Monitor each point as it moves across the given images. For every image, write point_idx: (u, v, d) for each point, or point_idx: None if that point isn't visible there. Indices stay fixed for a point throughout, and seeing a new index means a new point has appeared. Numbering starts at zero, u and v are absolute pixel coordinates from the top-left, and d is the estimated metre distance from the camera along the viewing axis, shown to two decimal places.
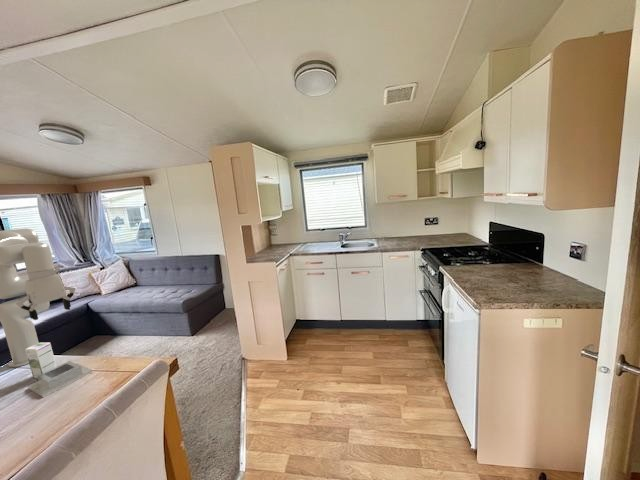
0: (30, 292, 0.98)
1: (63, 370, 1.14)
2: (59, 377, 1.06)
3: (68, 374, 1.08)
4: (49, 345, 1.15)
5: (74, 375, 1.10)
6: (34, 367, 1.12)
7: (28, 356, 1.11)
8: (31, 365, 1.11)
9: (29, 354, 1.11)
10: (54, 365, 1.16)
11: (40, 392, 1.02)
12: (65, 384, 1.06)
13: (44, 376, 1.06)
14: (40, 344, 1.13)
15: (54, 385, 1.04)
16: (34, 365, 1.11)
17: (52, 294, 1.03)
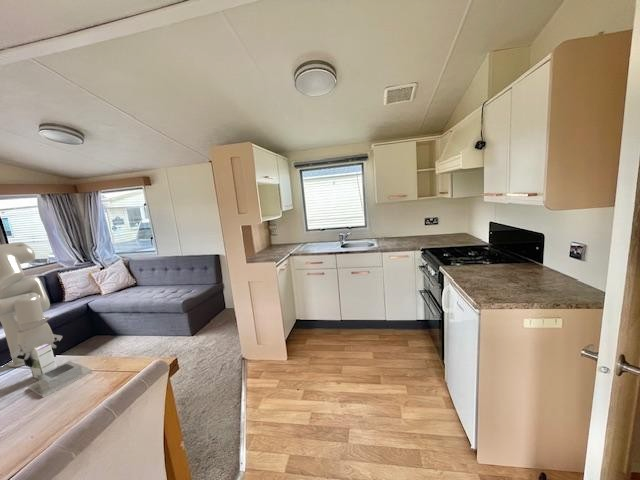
0: (21, 342, 1.07)
1: (63, 370, 1.14)
2: (59, 377, 1.06)
3: (68, 374, 1.08)
4: (49, 345, 1.15)
5: (74, 375, 1.10)
6: (34, 367, 1.12)
7: None
8: None
9: None
10: (54, 365, 1.16)
11: (40, 392, 1.02)
12: (65, 384, 1.06)
13: (44, 376, 1.06)
14: None
15: (54, 385, 1.04)
16: (34, 365, 1.11)
17: (42, 342, 1.13)
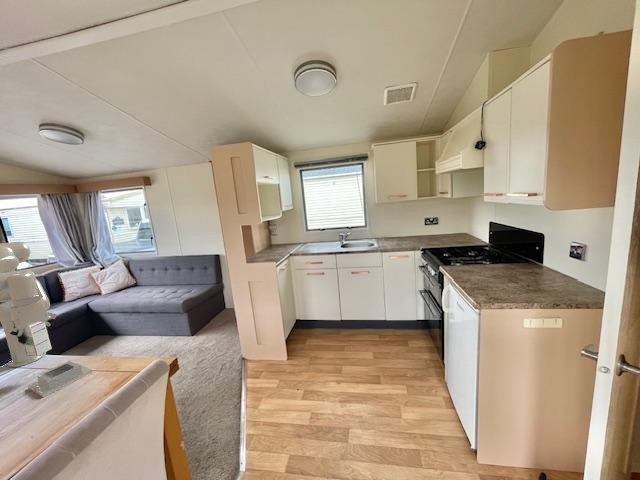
0: (14, 319, 1.06)
1: (63, 370, 1.14)
2: (59, 377, 1.06)
3: (68, 374, 1.08)
4: (43, 323, 1.13)
5: (74, 375, 1.10)
6: (28, 344, 1.10)
7: (22, 333, 1.09)
8: None
9: (23, 331, 1.09)
10: (48, 343, 1.15)
11: (40, 392, 1.02)
12: (65, 384, 1.06)
13: (44, 376, 1.06)
14: None
15: (54, 385, 1.04)
16: (27, 342, 1.10)
17: (35, 319, 1.11)
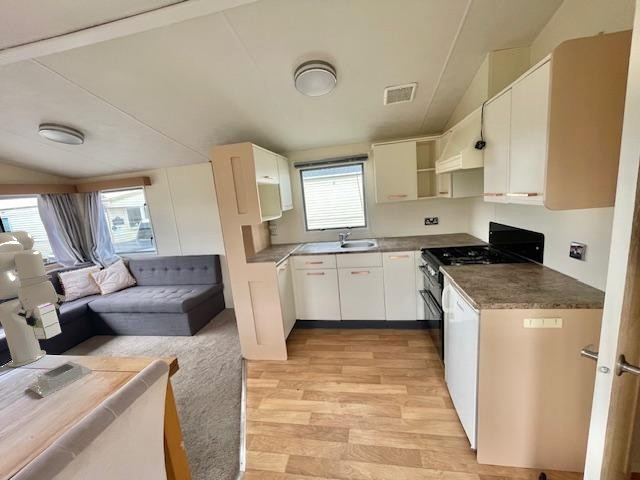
0: (22, 299, 1.00)
1: (63, 370, 1.14)
2: (59, 377, 1.06)
3: (68, 374, 1.08)
4: (52, 304, 1.07)
5: (74, 375, 1.10)
6: (36, 327, 1.04)
7: None
8: None
9: None
10: (58, 326, 1.09)
11: (40, 392, 1.02)
12: (65, 384, 1.06)
13: (44, 376, 1.06)
14: None
15: (54, 385, 1.04)
16: (36, 324, 1.04)
17: (44, 300, 1.05)
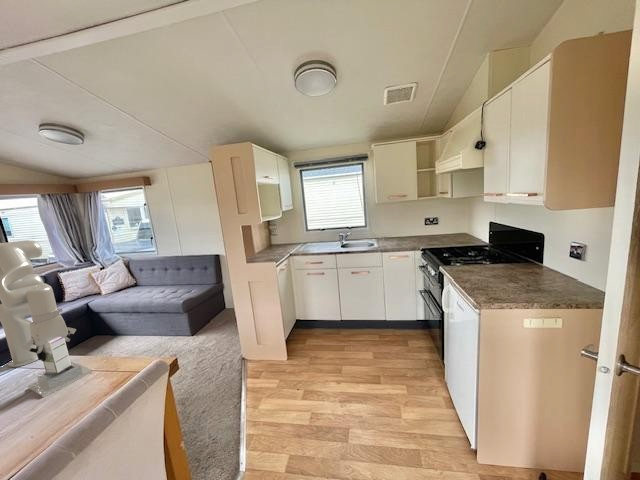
0: (34, 335, 1.02)
1: (63, 370, 1.14)
2: (59, 377, 1.06)
3: (68, 374, 1.08)
4: (63, 338, 1.09)
5: (74, 375, 1.10)
6: (47, 361, 1.06)
7: None
8: None
9: None
10: (68, 359, 1.11)
11: (40, 392, 1.02)
12: (65, 384, 1.06)
13: (44, 376, 1.06)
14: None
15: (54, 385, 1.04)
16: (47, 359, 1.06)
17: (55, 334, 1.07)
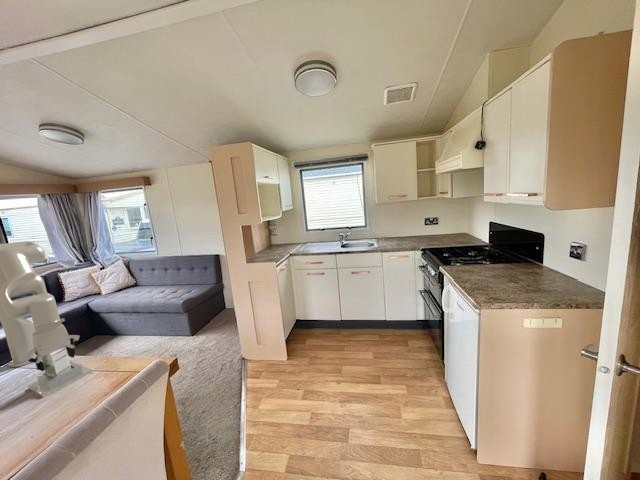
0: (37, 345, 1.02)
1: None
2: (59, 377, 1.06)
3: (68, 374, 1.08)
4: (64, 350, 1.10)
5: (74, 375, 1.10)
6: (49, 372, 1.07)
7: (43, 361, 1.06)
8: (46, 370, 1.07)
9: (44, 359, 1.06)
10: None
11: (40, 392, 1.02)
12: (65, 384, 1.06)
13: (44, 376, 1.06)
14: None
15: (54, 385, 1.04)
16: (49, 370, 1.06)
17: (57, 344, 1.08)
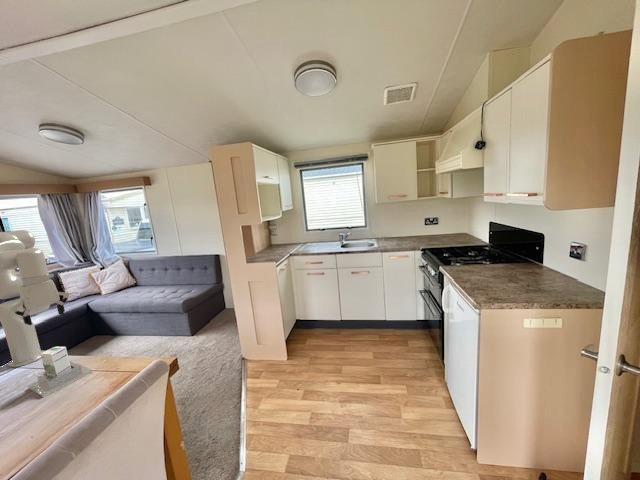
0: (24, 298, 0.99)
1: None
2: (59, 377, 1.06)
3: (68, 374, 1.08)
4: (64, 349, 1.10)
5: (74, 375, 1.10)
6: (49, 372, 1.07)
7: (43, 361, 1.06)
8: (46, 370, 1.07)
9: (44, 359, 1.06)
10: None
11: (40, 392, 1.02)
12: (65, 384, 1.06)
13: (44, 376, 1.06)
14: (55, 348, 1.09)
15: (54, 385, 1.04)
16: (49, 370, 1.06)
17: (46, 299, 1.05)
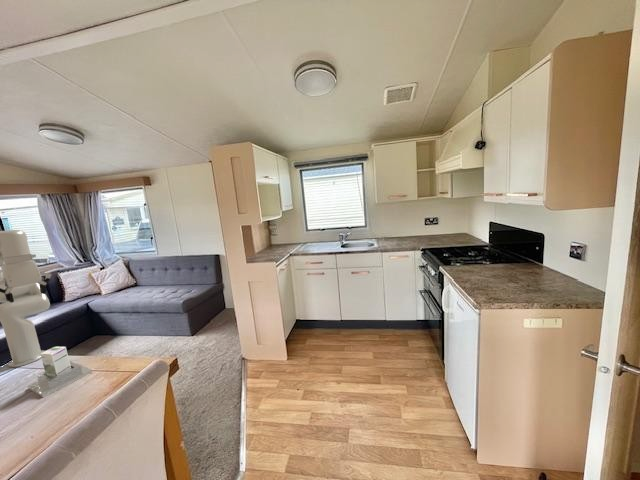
0: (6, 276, 1.04)
1: None
2: (59, 377, 1.06)
3: (68, 374, 1.08)
4: (64, 349, 1.10)
5: (74, 375, 1.10)
6: (49, 372, 1.07)
7: (43, 361, 1.06)
8: (46, 370, 1.07)
9: (44, 359, 1.06)
10: None
11: (40, 392, 1.02)
12: (65, 384, 1.06)
13: (44, 376, 1.06)
14: (55, 348, 1.09)
15: (54, 385, 1.04)
16: (49, 370, 1.06)
17: (28, 278, 1.09)
